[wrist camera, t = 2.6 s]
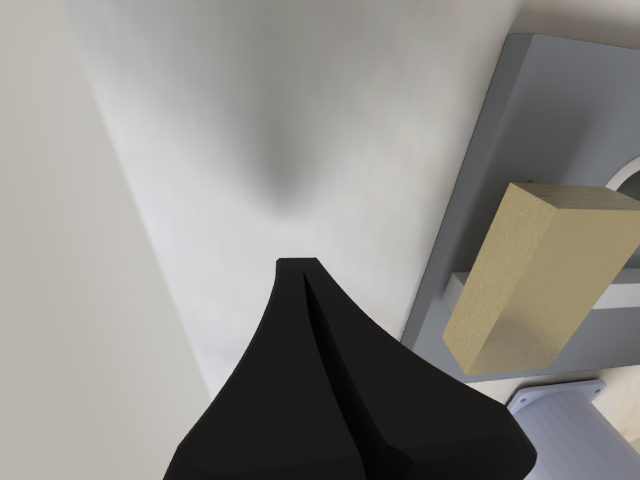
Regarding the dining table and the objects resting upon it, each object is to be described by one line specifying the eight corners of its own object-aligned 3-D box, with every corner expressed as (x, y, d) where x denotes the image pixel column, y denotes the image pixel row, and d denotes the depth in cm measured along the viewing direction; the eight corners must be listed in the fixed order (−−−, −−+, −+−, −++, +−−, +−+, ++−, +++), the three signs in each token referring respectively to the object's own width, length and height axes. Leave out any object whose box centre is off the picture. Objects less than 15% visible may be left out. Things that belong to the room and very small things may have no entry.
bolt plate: (635, 350, 24) (703, 405, 20) (389, 373, 20) (421, 448, 16) (872, 91, 15) (1074, 108, 11) (508, 33, 11) (640, 30, 7)
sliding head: (501, 315, 16) (548, 367, 14) (430, 319, 15) (466, 376, 13) (578, 175, 12) (663, 211, 10) (489, 171, 12) (557, 208, 9)
